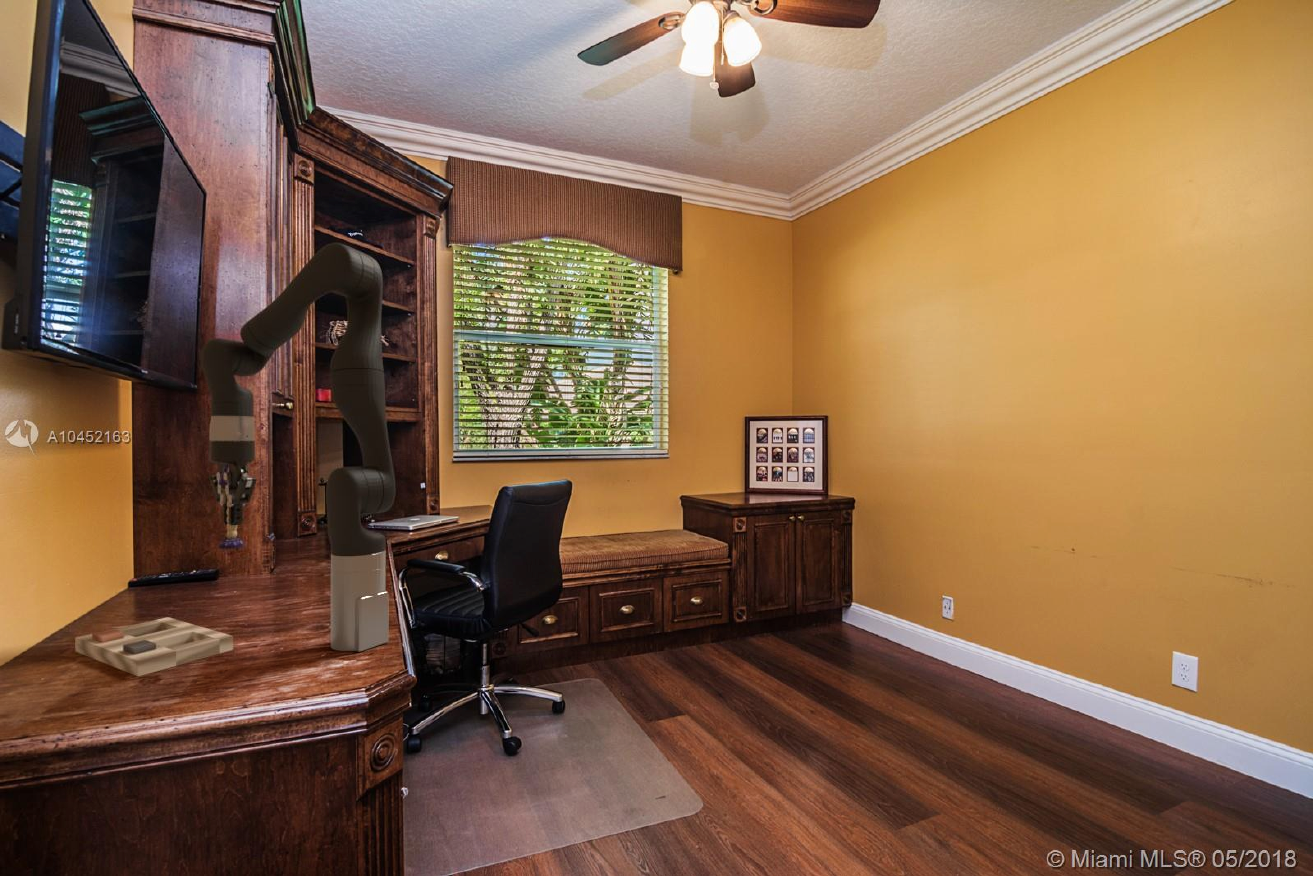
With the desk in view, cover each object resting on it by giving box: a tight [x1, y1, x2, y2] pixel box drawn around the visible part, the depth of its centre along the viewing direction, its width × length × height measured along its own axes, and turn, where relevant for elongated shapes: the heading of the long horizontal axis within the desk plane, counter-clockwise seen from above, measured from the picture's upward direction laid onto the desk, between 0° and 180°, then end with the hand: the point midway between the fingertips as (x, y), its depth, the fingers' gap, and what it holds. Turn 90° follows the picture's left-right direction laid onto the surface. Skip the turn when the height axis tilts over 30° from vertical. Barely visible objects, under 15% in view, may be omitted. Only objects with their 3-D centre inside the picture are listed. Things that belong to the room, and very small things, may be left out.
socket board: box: [74, 616, 234, 677], centre depth 108 cm, size 24×14×4 cm, turn 62°
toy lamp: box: [218, 465, 245, 550], centre depth 121 cm, size 5×5×17 cm
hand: (232, 524), depth 121 cm, fingers closed on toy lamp
